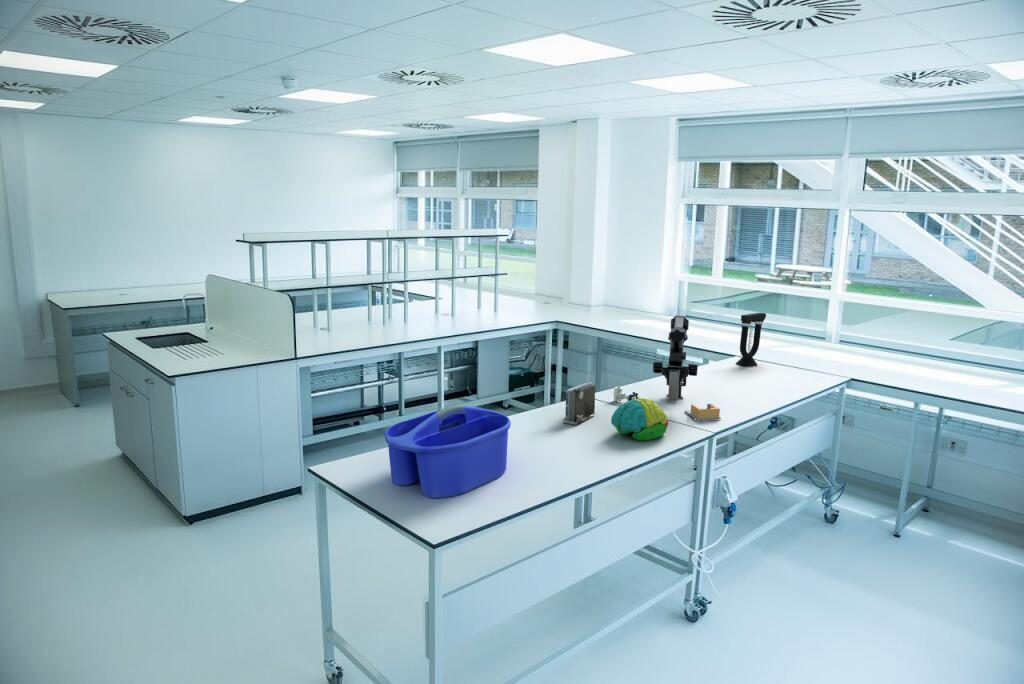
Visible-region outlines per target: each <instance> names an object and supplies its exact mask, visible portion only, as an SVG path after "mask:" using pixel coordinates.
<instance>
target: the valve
mask: <svg viewBox="0 0 1024 684" xmlns="http://www.w3.org/2000/svg"><path fill="white" fill-rule="evenodd" d="M613 391H614V392H613V402H614V401H621V402H622V401H623V400H627V401H630V400H635V399H637V398H638V399H640V397H639V396H638V395H639V393H637V392H635V391H632V394H629V395H627V394H626V393H625V392H623V387H622V386H615V387H614V389H613Z"/></svg>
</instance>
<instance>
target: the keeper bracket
mask: <svg viewBox="0 0 1024 684" xmlns="http://www.w3.org/2000/svg"><path fill="white" fill-rule="evenodd" d="M720 410H721V408H720V407H717V406H716V405H714V403H707V405H706V408H704V407H703V408H700V407H699V406H697V405H696V404H693V403H692V404H690V409H687V410H684V414H686V413H687V414H688V415H687V414H686V415H687V416H689V415H690V416H691V417H693V418H694V419H696V420H708V421H718V420H717V419H721V420H722V417H720V412H721V411H720ZM690 416H689V417H690ZM691 417H690V418H691ZM693 418H692V419H693ZM694 419H693V420H694ZM696 420H695V421H696Z"/></svg>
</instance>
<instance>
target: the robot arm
mask: <svg viewBox="0 0 1024 684" xmlns="http://www.w3.org/2000/svg"><path fill="white" fill-rule="evenodd" d="M689 324H690V320H689V319H688V318H686V316H684V315H679V314H678V315H677V314H675V315H674V317H672V318H671V319H670V332H668V338H667V339H668V341H669V344H670V345H669V357H668V363H667V364H665V363H664V362H663V361H654V362H653V363H652V373H653V374H661V375H662V376H664V378H665V380H666V383H665V384H666V386H668V387H669V375H670V369H672V370H680V372H679V390H678V400H683V399H684V397H683V396H682V390H683V389H682V387H687V377H689V376H690V377H691V376H693V377H697V376H698V369H699V368H698V364H696V363H688V365H687V366H683V361H686V359H687V351H684V344H685V342H687V341H688V337H689V336H688V334H687V331H689ZM666 395H667V396H668V394H667V393H666ZM667 396H666V397H667Z"/></svg>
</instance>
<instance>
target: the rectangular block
mask: <svg viewBox="0 0 1024 684" xmlns="http://www.w3.org/2000/svg"><path fill="white" fill-rule="evenodd" d="M679 372H680V370H672V369H670V375H669V386H668V397H667V401H668V402H678V401H679V399H678V390H679Z"/></svg>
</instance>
